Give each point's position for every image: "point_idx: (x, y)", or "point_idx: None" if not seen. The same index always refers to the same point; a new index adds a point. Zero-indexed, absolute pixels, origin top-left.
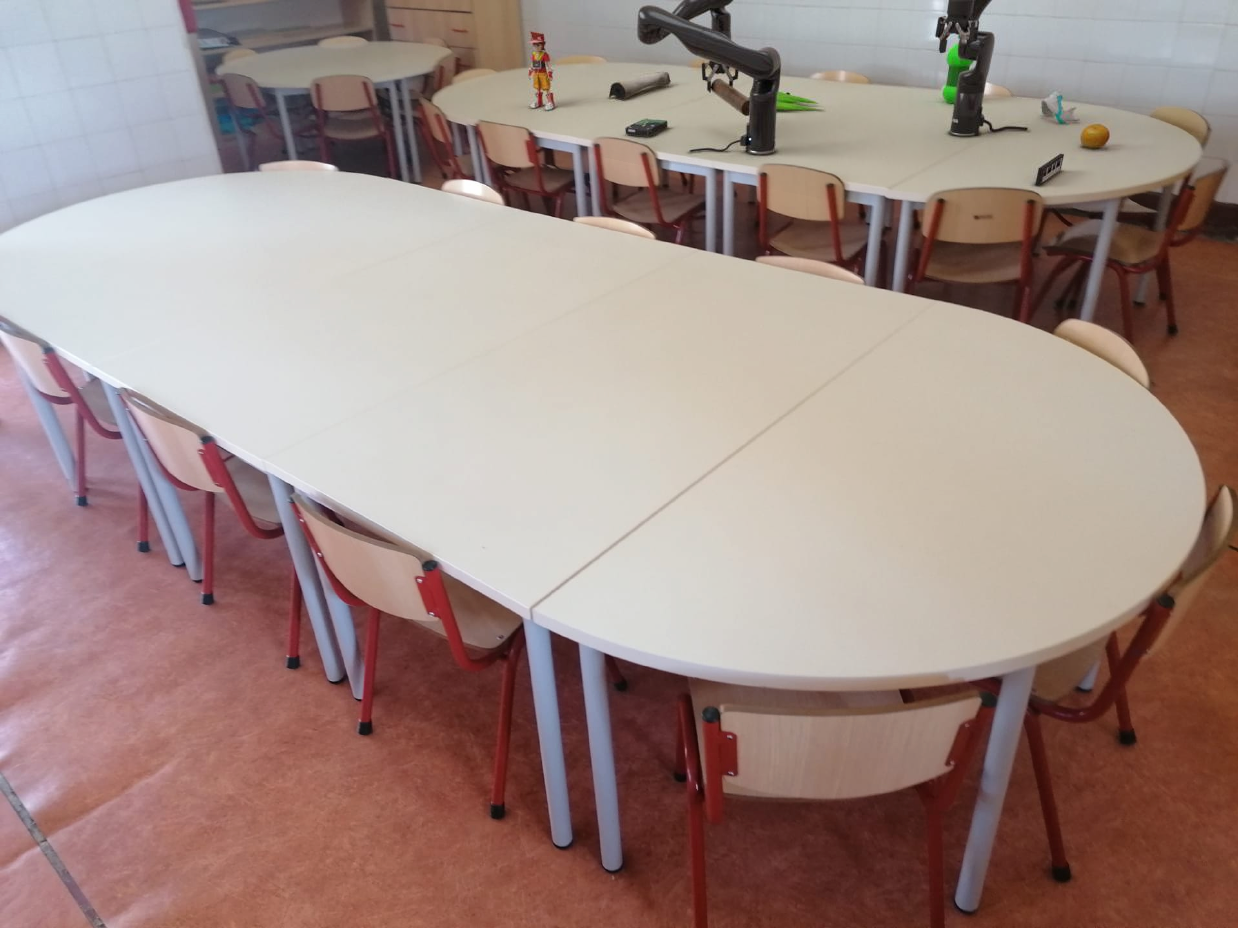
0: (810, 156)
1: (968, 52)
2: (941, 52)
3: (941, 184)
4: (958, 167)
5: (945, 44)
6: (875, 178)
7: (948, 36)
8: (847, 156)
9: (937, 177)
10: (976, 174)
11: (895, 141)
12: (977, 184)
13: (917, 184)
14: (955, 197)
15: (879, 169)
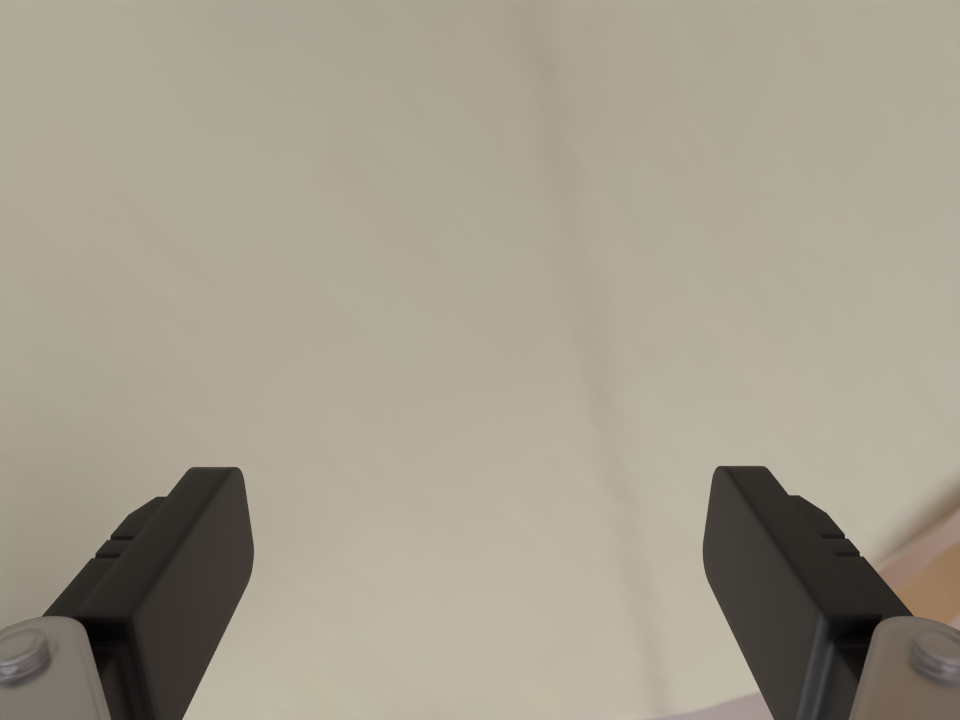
0: None
1: (828, 536)
2: (249, 570)
3: None
4: (714, 353)
5: (181, 588)
6: (546, 676)
7: (97, 695)
8: None
9: None
10: (839, 378)
11: (165, 224)
12: (911, 480)
13: (714, 627)
14: None
15: (475, 597)
